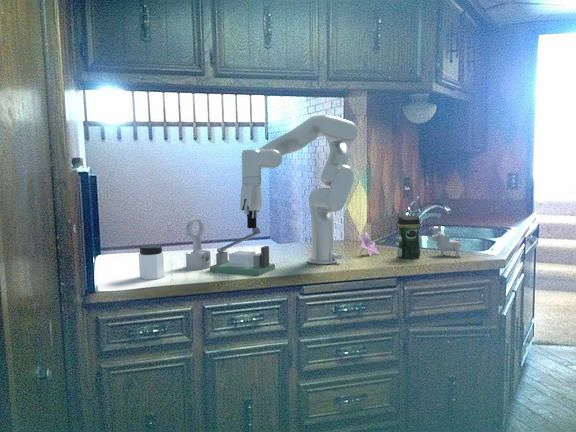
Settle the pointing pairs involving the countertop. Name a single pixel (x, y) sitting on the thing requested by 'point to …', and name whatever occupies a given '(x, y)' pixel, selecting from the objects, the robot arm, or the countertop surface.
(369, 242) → the lily
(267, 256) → the base
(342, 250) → the countertop surface
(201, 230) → the engine component
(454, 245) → the dog figurine
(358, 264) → the countertop surface
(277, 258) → the countertop surface
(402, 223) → the coffee jar
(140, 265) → the jar
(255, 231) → the thin grey bar
